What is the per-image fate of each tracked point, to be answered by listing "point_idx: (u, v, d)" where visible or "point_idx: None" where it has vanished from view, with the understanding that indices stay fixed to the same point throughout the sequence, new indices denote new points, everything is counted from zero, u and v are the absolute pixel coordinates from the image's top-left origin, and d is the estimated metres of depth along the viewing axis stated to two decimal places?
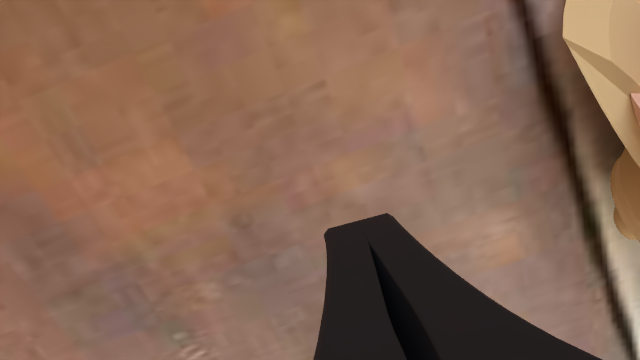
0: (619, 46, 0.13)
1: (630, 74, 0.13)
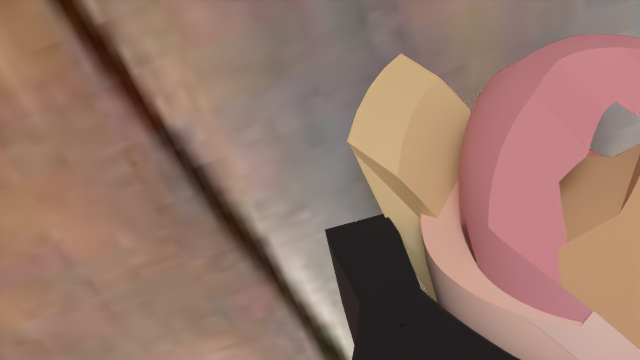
0: (414, 157, 0.11)
1: (418, 193, 0.11)
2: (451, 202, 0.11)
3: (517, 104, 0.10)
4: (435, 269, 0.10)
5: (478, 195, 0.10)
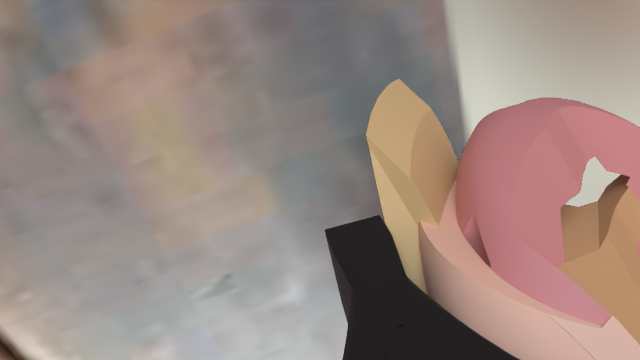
0: (419, 167, 0.12)
1: (425, 199, 0.11)
2: (447, 216, 0.11)
3: (531, 132, 0.11)
4: (449, 267, 0.10)
5: (497, 203, 0.10)
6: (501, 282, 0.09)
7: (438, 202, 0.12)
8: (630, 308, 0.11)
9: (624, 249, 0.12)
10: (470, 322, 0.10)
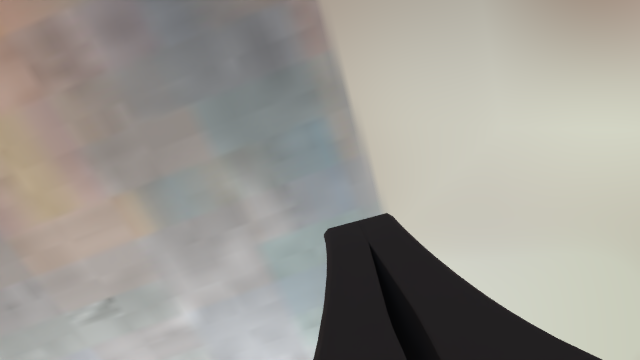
0: None
1: None
2: None
3: None
4: None
5: None
6: None
7: None
8: None
9: None
10: None
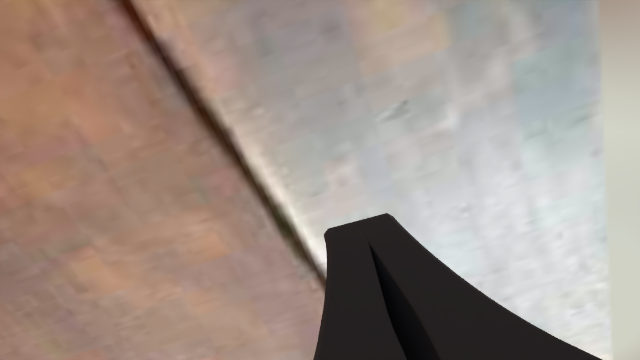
0: None
1: None
2: None
3: None
4: None
5: None
6: None
7: None
8: None
9: None
10: None
